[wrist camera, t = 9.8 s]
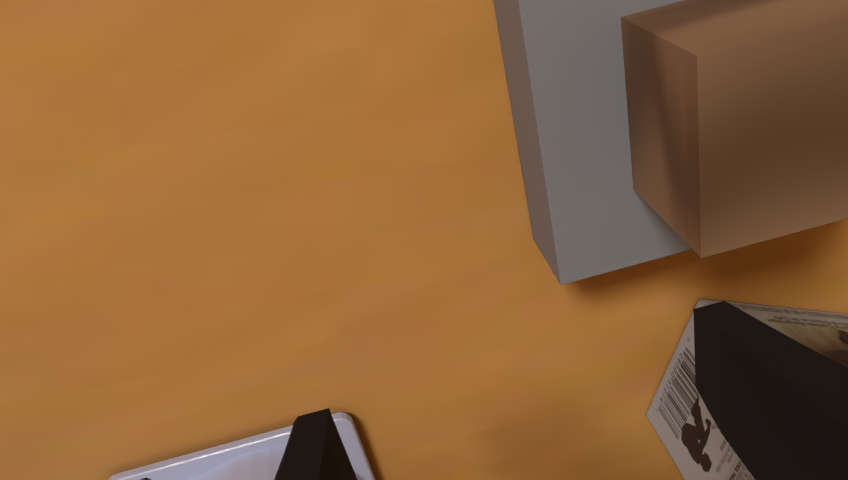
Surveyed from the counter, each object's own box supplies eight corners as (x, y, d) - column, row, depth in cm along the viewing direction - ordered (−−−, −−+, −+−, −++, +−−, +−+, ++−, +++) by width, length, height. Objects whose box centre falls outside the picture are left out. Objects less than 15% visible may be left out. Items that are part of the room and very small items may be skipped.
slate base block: (533, 238, 24) (560, 285, 21) (482, -68, 19) (509, -57, 16) (809, 163, 24) (870, 200, 22) (830, -160, 19) (912, -163, 17)
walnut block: (620, 17, 18) (697, 56, 14) (808, -33, 18) (929, -6, 14) (633, 189, 20) (701, 258, 17) (798, 144, 20) (899, 204, 17)
